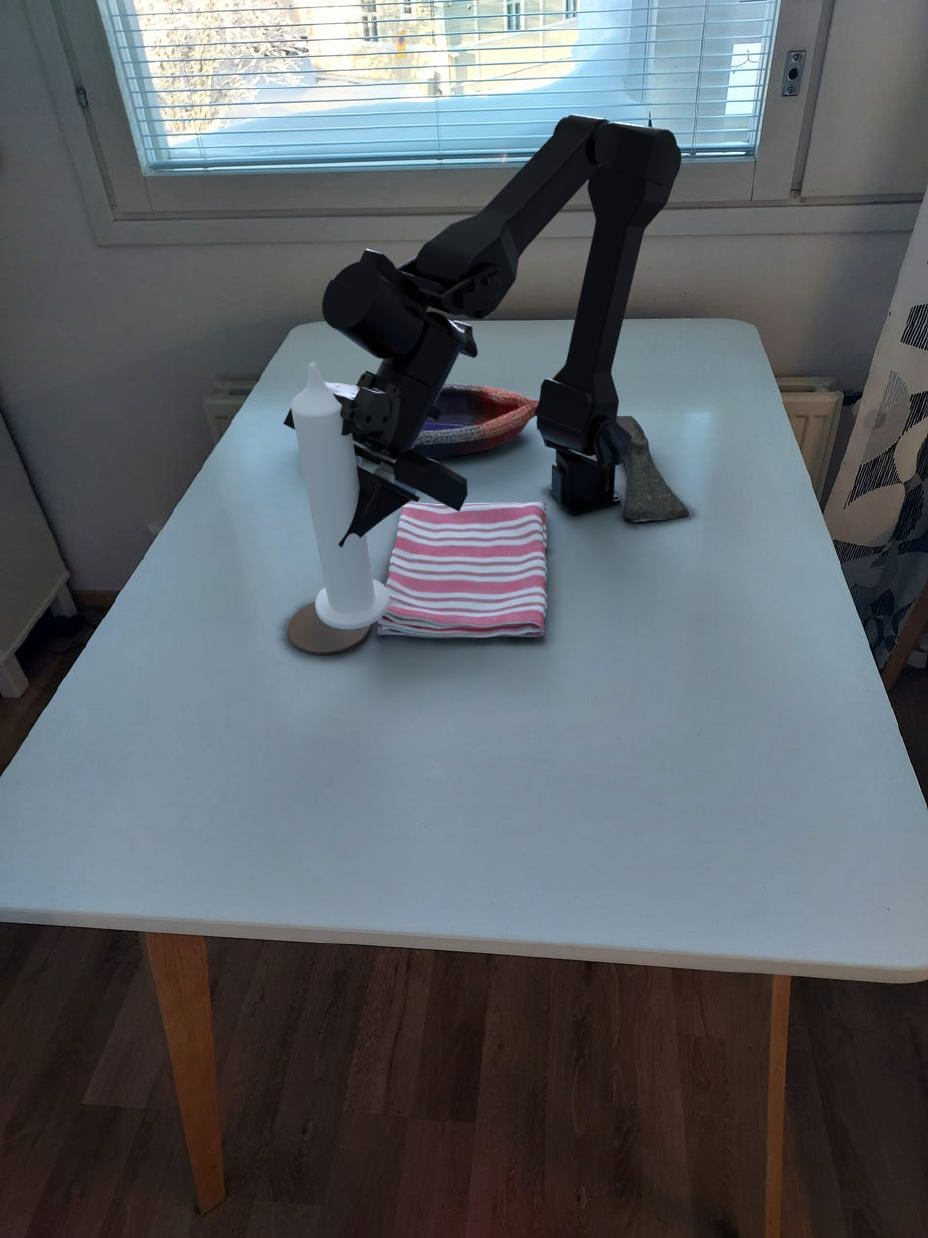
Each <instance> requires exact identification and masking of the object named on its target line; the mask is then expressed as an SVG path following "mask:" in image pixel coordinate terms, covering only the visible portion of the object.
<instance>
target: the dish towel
mask: <svg viewBox="0 0 928 1238" xmlns="http://www.w3.org/2000/svg"><path fill="white" fill-rule="evenodd" d="M400 509H401V513H400V515H399V521H398V523H397V531H396V534H395V535H396V539H395V544H394V547H393V549H392V550H391V556H390V558H389V566H388V577H387V580H386V583H385V584H384V586H385V587H386V589H387V590H388V593H389V598H390V603H389V607H388V610H387V611H386V613H385V614H384V615H383V616H382V617H381V618H380V619H379V620H377V621H376V623H377V634H378V635H380V636H409V637H417V638H430V639H433V638H435V639H451V638H453V639H454V638H479V639H481V638H482V639H483V638H493V637H510V638H511V637H513V638H515V637H519V638H539V637H542V636H543V635H544V634H545V633H546V627H545V619H546V616H547V610H548V595H547V580H548V579H547V578H548V577H547V574H548V566H547V564H548V563H547V559H546V553H547V552H546V550H547V540H548V535H547V522H546V521H547V519H546V518H547V514H548V510H547V502H546V501H543V500H540V501H539V500H537V501H530V502H499V501H498V502H497V501H496V502H469V503H467V502H466V503H465V502H464V503H463V505H462V507H461V509H460V511H456V510H454V509H452V508H450V507H448V506H446V505H444V504H442V503H427V502H419V501H418V502H413V501H411V502H408V503H407V504H405V505H404V506H402V507H401V508H400Z"/></svg>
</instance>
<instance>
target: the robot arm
mask: <svg viewBox="0 0 928 1238" xmlns="http://www.w3.org/2000/svg"><path fill="white" fill-rule="evenodd" d="M681 150H682V149H681V147H680V146H679V145H678V143H677V138H676V137H675V135H674V133H673V131H671V130H669V129H666V128H661V127H660V128H658V127H652V126H644V125H639V124H632V123H625V122H618V121H615V122H610V120H608V119H607V118H603V117H595V116H588V115H582V114H575V113H574V114H569V115H567V116H564V117H562V118H560V119H559V120H558V122H557V123H556V125H555V128H554V130H553V133H552V135H551V136H550V137H549V138H548V139H547V140H546V142H544V144H543V145H542V146H540V148H539V149H538V150H537V152H535V153H534V154H533V155H532V156H531V158H530V159H529V160H528V161H526V163H525V164H524V165H523V166H522V167H521V168H520V169H519V171H518V172H516V174H515V175H514V176H513V177H512V178H511V179H510V180H509V181H508V182H507V184H505V185H504V187H502V188H501V190H500V191H499V192H498V193H497V194H496V195H495V196H494V197H493V198H492V199H491V201H489V202H488V203H487V205H485V207H484V208H482V209H481V210H480V211H478V212H477V213H476V214H474V215H472V216H469V217H466V218H464V219H461V220H458V221H455V222H453V223H451V224H448V225H447V226H446V227H444V228H443V229H442V230H441V231H439V232H438V233H437V234H435V235H434V236H432V237H431V238H430V239H429V240H428V241H426V242H425V243H424V244H423V245H422V246H421V248H420V250H419V251H418V253H417V255H415V256H413V257H412V258H410V259H408V260H406V261H405V262H404V263H402V264H400V265H398V266H397V267H396V266H395V265H396V264H394V262H393V261H392V260H391V259H390V258H389V257H388V256H387V255H386V254H384V253H383V252H379V251H375V250H372V249H369V248H366V249H364V251H363V253H362V255H361V257H360V259H359V261H356V262H353V263H351V264H349V265H347V266H346V267H344V268H343V269H342V270H340V272H338V273H337V274H336V275H335V277H334V278H333V279H330V280H329V282H328V284H327V286H326V288H325V290H324V293H323V297H322V302H321V313H322V315H323V319H324V321H325V322H326V324H327V325H328V326H329V327H331V328H332V329H333V330H335V331H337V332H338V333H339V334H341V335H343V336H344V337H345V338H347V340H349V341H351V342H353V343H354V344H355V345H357V346H358V347H360V348H362V350H364V351H365V352H367V353H369V354H370V355H372V356H373V357H375V358H376V359H378V360H379V359H381V362H380V364H379V366H378V368H377V370H376V373H373V372H372V371H368V370H365V372H364V373H362V374H361V375H360V376H359V379H358V381H357V383H356V384H347V383H341V382H329V381H324V383H325V384H326V385H327V386H329V387H332V388H334V389H337V390H339V391H340V392H338V393H333V395H334V397H335V398H336V400H337V401H338V402H339V403H340V404H342V408H341V411H340V415H341V417H342V418H343V426H342V433H341V435H346V436H347V435H349V434H350V433H352V438H353V444H354V451H355V458H356V465H357V472H358V479H359V486H360V490H359V497H358V503H357V507H356V511H355V514H354V517H353V520H352V522H351V525H350V527H349V529H348V531H347V533H346V534H345V536H344V537H343V539H342V540H341V541H340V543H339V544H338V545H339V546H340V547H343V545H344V542H345V540H346V538H347V537H348V536H349V535H350V534H352V533H354V534H357V535H358V536H359V537H360V538H361V537H362V536H363V535H365V534H368V533H369V531H371V530H372V529H373V528H375V527H376V526H377V525H378V524H380V523H381V522H383V521H384V520H385V519H386V518H388V517H389V516H390V515H392V514H394V513H395V512H396V511H398V510H400V509H402V508H401V507H402V506H404V505H405V504H407V503H411V502H413V501H414V503H416V502H418V503H419V501H421V497H420V496H418V495H417V493H418V492H420V493H421V494H424V495H426V496H428V497H430V498H432V499H433V500H435V501H436V502H438V503H439V504H444V505H446V506H448V507H450V508H452V509H454V510H456V511H460V509H461V507H462V505H463V504H464V503H465V501H466V499H467V497H468V494H469V491H468V479H467V478H466V477H464V476H463V475H461V474H459V473H457V472H456V471H454V470H452V469H450V468H448V467H447V466H445V465H443V464H442V463H440V462H438V461H436V460H434V459H431V457H425V456H423V455H421V453H420V452H418V451H417V450H415V449H413V448H414V446H415V444H416V442H417V439H418V437H419V435H420V433H421V431H422V429H423V427H424V425H425V423H426V421H427V419H428V418H430V419H432V420H434V421H437V420H438V418H439V416H440V414H441V412H442V411H441V410H439V409H438V408H436V407H435V406H434V405H435V403H436V401H437V399H438V397H439V394H440V392H441V390H442V388H443V386H444V384H445V383H447V380H448V379H449V376H450V374H451V373H452V370H453V368H454V366H455V364H456V362H457V360H458V358H459V355H460V354H461V355H463V356H466V357H468V358H472V359H476V358H477V356H478V354H479V353H478V346H477V343H476V340H475V338H474V334H473V326H472V325H470V324H467V323H464V322H461V321H458V320H454V321H451V320H450V319H449V318H447V316H445V315H444V314H442V313H443V312H444V313H446V314H450V315H453V316H462V317H464V318H468V319H474V320H484V319H486V318H488V317H489V316H490V315H492V313H494V312H495V311H496V310H497V308H498V307H499V305H500V304H501V302H502V301H503V300H504V298H505V296H506V295H507V294H508V292H509V291H510V290H511V288H512V286H513V285H514V283H515V282H516V280H517V276H518V270H519V269H518V267H519V260H520V257H521V256H522V255H523V253H524V252H525V251H526V249H527V248H528V246H529V245H531V243H532V242H533V241H534V240H535V239H536V238H537V237H538V236H539V235H540V234H541V233H542V231H543V230H544V229H545V228H547V226H548V225H549V224H550V222H551V221H552V220H554V218H555V217H556V216H557V214H559V213H560V211H561V210H562V209H563V208H564V207H565V206H566V205H567V204H568V202H569V201H571V200H572V198H574V196H575V195H576V194H577V193H578V192H579V191H580V189H581V188H582V187H583V186H584V185H585V184H586V183H587V184H586V190H587V194H588V198H589V201H590V205H591V208H592V212H593V215H594V221H595V222H594V228H593V233H592V238H591V240H590V246H589V251H588V256H587V261H586V265H585V270H584V275H583V279H582V283H581V289H580V294H579V297H578V303H577V309H576V313H575V317H574V323H573V325H572V331H571V335H570V336H571V337H570V339H569V345H568V350H567V353H566V354H567V355H566V359H565V363H564V365H562V367H561V368H560V369H559V370H558V372H556V374H555V375H554V376H553V377H552V378H548V377H547V378H544V380H543V381H542V382H541V385H540V393H539V398H538V400H539V403H538V406H537V408H536V410H535V413H534V414H535V415H537V416H536V429H537V431H539V433H540V436H541V437H542V441H543V443H544V446H545V447H546V448H549V449H550V448H551V449H552V450H554V451H555V462H554V463H552V465H551V484H550V485H549V486H548V490H549V492H550V493H551V495H552V496H553V497H554V498H555V500H557V501H558V503H559V504H561V505H562V506H563V508H564V509H565V510H566V511H567V512H568V514H570V515H571V516H577V515H581V514H584V513H587V512H591V511H595V510H598V509H603V508H607V507H610V506H614V505H618V504H620V503H621V502H622V499H621V496H620V495H619V494H618V493H617V492H616V491H615V484H616V467H617V466H620V465H621V464H623V463H622V457H624V456H625V455H627V454H628V450H629V448H630V443H631V439H632V436H631V435H630V434H629V433H628V432H627V431H626V430H624V429H623V428H622V427H621V426H620V425H619V424H618V423H617V422H616V419H617V416H618V411H619V405H620V399H619V396H618V395H619V394H618V391H617V388H616V385H615V382H614V378H613V375H612V370H613V366H614V361H615V356H616V352H617V348H618V344H619V339H620V335H621V331H622V327H623V323H624V319H625V315H626V310H627V305H628V301H629V297H630V292H631V288H632V284H633V280H634V276H635V273H636V268H637V264H638V258H639V254H640V251H641V247H642V243H643V237H644V234H645V231H646V229H647V227H648V226H649V225H650V224H651V223H652V221H653V220H654V219H655V218H656V217H657V216H658V214H660V212H661V211H662V210H663V209H664V208H665V206H667V204H668V202H669V199H670V196H671V193H672V190H673V187H674V184H675V181H676V178H677V176H678V175H679V172H680V169H681V165H682V151H681ZM429 308H431V309H434V310H438V311H441V312H442V313H440V312H437V311H428V309H429ZM283 425H284V426H286V427H288V428H290V429H292V430H294V431H295V426H294V421H293V416H292V410H291V407H290V408H289V411H288V412H287V415H286V417H285V419H284V421H283ZM365 442H366V443H368V444H370V447H367V446H365V445H364V443H365ZM383 450H385V451H387V452H389V453H390V454H389V456H386V455H384V454H382V452H383ZM363 459H364V460H366V461H368V462H370V463H372V464H374V465H376V468H375V470H374V472H372V471H369V470H367V469H366V468H364V467H361V464H362V463H363Z"/></svg>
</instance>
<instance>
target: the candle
mask: <svg viewBox="0 0 928 1238" xmlns="http://www.w3.org/2000/svg"><path fill="white" fill-rule="evenodd" d="M307 375H308V376H307V383H306V386H305V388H304V389H303V390H302V391H300V392H299V393H297V395H296V396H294V397H293V399H292V400H291V403H290V408H291V410H292V416H293V421H294V426H295V430H294V432H295V435H296V441H297V447H298V452H299V457H300V461H301V462H300V463H301V466H302V474H303V477H304V482H305V488H306V494H307V498H308V503H309V504H308V505H309V509H310V514H311V520H312V524H313V531H314V535H315V540H316V546H317V550H318V556H319V561H320V566H321V571H322V576H323V577H322V578H323V581H324V582H323V583H324V587H323V588H322V589H321V590H320V591H319V592H318V594H317V595H316V597H315V598H316V599H315V601H314V602H315V608H316V612H317V615H318V617H319V618H320V619H321V620H322V621H323V622H324V623H326V624H327V625H329V626H332V627H335V628H339V629H357V628H362V627H365V626H368V625H370V624H371V625H372V624H374V623H377V620H379V619H380V618H381V617H382V616H383V615H384V614H385V613H386V611H387V610H388V607H389V603H390V598H389V593H388V590H387V589H386V587H385V584H383V583H382V582H380V581H379V580H377V579H375V578H374V576H373V569H372V562H371V556H370V549H369V541H368V533H366V534H365V535H363V536H362V537H361V538H360V537H359V536H358V535H357V534H354V533H352V534H350V535H349V536H348V537H347V538H346V540H345V542H344V545H343V547H340V546H339V545H338V544H339V543H340V541H341V540H342V539H343V537H344V536H345V534H346V533H347V531H348V529H349V527H350V525H351V522H352V520H353V517H354V514H355V511H356V507H357V503H358V497H359V490H360V486H359V479H358V472H357V465H356V458H355V451H354V444H353V438H352V433H350V434H349V435H347V436H346V435H341V433H342V426H343V418H342V417H341V415H340V411H341V408H342V404H340V403H339V402H338V401H337V400H336V398H335V397H334V395H333V393H338V392H340V391H339V390H337V389H334V388H332V387H329V386H327V385H326V384H325V383H324V382H325V381H324V380H323V378H322V376H321V373H320V370H319V368H318V366H317V364H316V362H314V361H313V362H310V363H309V364H308V374H307Z"/></svg>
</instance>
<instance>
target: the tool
mask: <svg viewBox="0 0 928 1238" xmlns="http://www.w3.org/2000/svg"><path fill="white" fill-rule="evenodd" d="M616 422H617V423H618V424H619V425H620V426H621V427H622V428H623V429H624V430H626V431H627V432H628V433H629V434H630V435H631V436H632V439H631V443H630V448H629V450H628V454H627V455H625V456H624V457H622V463H621V464H623V465H624V466H625V470H626V487H625V499H624V503H623V507H622V517H623V519H626V520H629V522H630V523H642V522H650V521H668V520H671V519H673V520H674V519H679V518H683V517H688V516H689V514H690V511H689V509H688V508H687V507H686V505H685V504H684V503H683V502H682V500H680V498H679V496H677V495H676V494H675V493H674V491H673V490H672V488H671V487H670V486H669V485H668V484H667V482H666V481H665V479H664V477H663V476H662V474H661V472H659V469H658V468H657V467H656V465H655V463H654V461H653V458H652V453H650V443H649V439H648V438H647V437H646V435H645V431H644V429H643V428H642V426H641V425H640V423H639V422H638V420H637V419H636V418H634V417H633V416H632V415H617V419H616Z"/></svg>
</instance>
